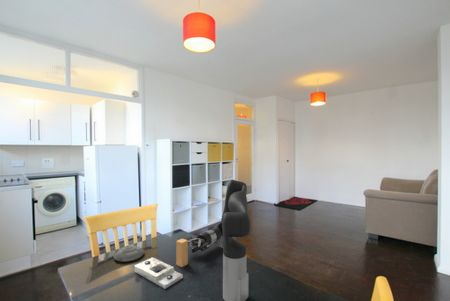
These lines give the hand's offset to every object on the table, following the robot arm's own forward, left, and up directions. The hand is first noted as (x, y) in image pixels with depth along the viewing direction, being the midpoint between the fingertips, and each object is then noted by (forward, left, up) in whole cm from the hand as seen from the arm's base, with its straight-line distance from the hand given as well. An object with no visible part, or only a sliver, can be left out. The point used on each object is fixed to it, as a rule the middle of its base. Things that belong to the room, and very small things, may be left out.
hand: (186, 248), depth 116 cm
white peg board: (+2, +16, -7) cm, 17 cm away
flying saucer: (+29, +14, -8) cm, 33 cm away
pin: (0, +3, -7) cm, 8 cm away
